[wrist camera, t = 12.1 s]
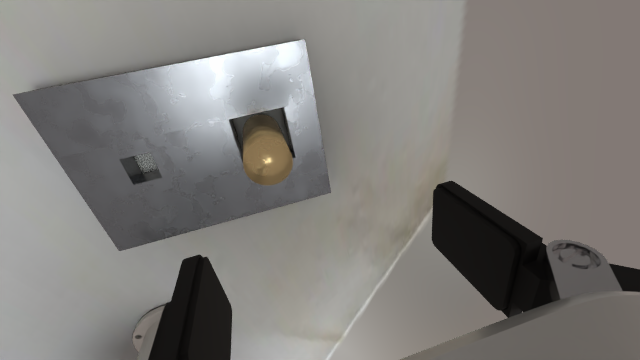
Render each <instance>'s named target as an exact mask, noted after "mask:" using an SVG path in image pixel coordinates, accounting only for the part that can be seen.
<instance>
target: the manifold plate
mask: <svg viewBox="0 0 640 360" xmlns="http://www.w3.org/2000/svg"><path fill="white" fill-rule="evenodd" d="M13 96H14V97H15V99H16V100H17V102H18V103H19V105H20V106H21V108H22V109H23V111H24V112H25V114H26V115H27V117H28V118H29V119H30V121H31V122H32V124H33V125H34V127H35V128H36V130H37V131H38V133H39V134H40V136H41V137H42V139H43V140H44V141H45V143H46V144H47V146H48V147H49V149H50V150H51V152H52V153H53V155H54V156H55V158H56V159H57V161H58V162H59V163H60V165H61V166H62V168H63V169H64V171H65V172H66V174H67V175H68V177H69V178H70V180H71V181H72V183H73V184H74V185H75V187H76V188H77V190H78V191H79V193H80V194H81V196H82V197H83V199H84V200H85V202H86V203H87V205H88V206H89V207H90V209H91V210H92V212H93V213H94V215H95V216H96V218H97V219H98V221H99V222H100V224H101V225H102V227H103V228H104V229H105V231H106V232H107V234H108V235H109V237H110V238H111V240H112V241H113V243H114V244H115V246H116V247H117V249H118V250H119V251H122V250H126V249H129V248H133V247H136V246H140V245H144V244H147V243H151V242H154V241H158V240H162V239H165V238H169V237H172V236H176V235H180V234H183V233H187V232H190V231H194V230H198V229H201V228H205V227H208V226H212V225H216V224H219V223H223V222H226V221H230V220H234V219H237V218H241V217H245V216H248V215H252V214H255V213H259V212H263V211H266V210H270V209H273V208H277V207H281V206H284V205H288V204H291V203H295V202H299V201H302V200H306V199H309V198H313V197H317V196H320V195H324V194H327V193H331V190H330V184H329V178H328V172H327V166H326V160H325V155H324V149H323V143H322V137H321V131H320V125H319V119H318V113H317V107H316V101H315V96H314V90H313V84H312V78H311V72H310V66H309V60H308V54H307V48H306V43H305V39H304V40H297V41H292V42H286V43H281V44H276V45H270V46H265V47H260V48H255V49H249V50H244V51H239V52H234V53H228V54H223V55H218V56H212V57H207V58H202V59H197V60H191V61H186V62H181V63H175V64H170V65H165V66H160V67H154V68H149V69H144V70H139V71H133V72H128V73H123V74H117V75H112V76H107V77H102V78H96V79H91V80H86V81H80V82H75V83H70V84H65V85H59V86H54V87H49V88H44V89H38V90H33V91H28V92H24V93H19V94H14V95H13ZM278 108H282V109H283V114H284V118H285V122H286V127H287V131H288V136H289V140H290V144H291V149H290V152H291V154H292V157H293V167H292V170H291V172H290V174H289V175H288V177H287V178H286V179H284V180H283V181H282V182H280V183H278V184H275V185H260V184H258V183H255V182H254V181H252V180H251V179H250V178H249V177H248V176H247V175H246V173H245V171H244V167H243V153H242V150H241V147H240V144H239V141H238V138H237V135H236V132H235V129H234V126H233V122H232V119H233V118H237V117H242V116H246V115H251V114H255V113H260V112H264V111H269V110H273V109H278ZM149 152H150V153H151V155H152V157H153V159H154V161H155V163H156V165H157V167H158V169H159V170H155V171H151V172H147V173H142V172H141V170H140V168H139V166H138V164H137V162H136V160H135V159H134V157H133V156H136V155H141V154H145V153H149Z"/></svg>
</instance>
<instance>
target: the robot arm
mask: <svg viewBox="0 0 640 360" xmlns="http://www.w3.org/2000/svg"><path fill="white" fill-rule="evenodd" d="M432 219H433V220H432V241H433V244H434V246H435V247H436V248H437V249H438V250H439V251H440V252H441V253H442V254H443V255H444V256H445V257H446V258H447V259H448V260H449V261H450V262H451V263H452V264H453V265H454V266H455V268H457V270H458V271H459V272H460V273H461V274H462V275H463V276H464V277H465V278H466V279H467V280H468V281H469V282H470V283H471V284H472V285H473V286H474V287H475V288H476V289H477V290H478V291H479V292H480V293H481V294H482V295H483V297H484V298H485V299H486V300H487V301H488V302H489V303H490V304H491V305H492V306H493V307H494V308H495V309H497V310H501V311H502V312H503V313H504V314H505V315H506V316H507V317H508V318H507V319H504V320H502V321H500V322H496V323H494V324H491V325H489V326H486V327H483V328H481V329H478V330H475V331H473V332H470V333H468V334H465V335H462V336H460V337H457V338H454V339H452V340H449V341H447V342H444V343H441V344H439V345H437V346H434V347H431V348H429V349H426V350H423V351H421V352H418V353H416V354H413V355H411V356H408V357H405V358H403V359H400V360H640V270H639V269H634V268H629V267H624V266H619V265H614V264H609V263H608V262H607V260H606V258H605V257H604V256H603V255H602V254H601V253H600V252H598V251H597V250H595V249H594V248H592V247H590V246H588V245H585V244H582V243H580V242H575V241H570V240H556V241H552V242H550V243H549V244H548V245H547V246H546V245H545V244H543V243H542V239H543V238H541V237H540V236H538V235H537V234H535V233H533V232H532V231H530V230H529V229H527V228H526V227H524V226H522V225H521V224H519V223H518V222H516V221H515V220H513V219H512V218H510V217H508V216H506V215H505V214H503V213H502V212H501V211H499V210H497V209H496V208H494V207H493V206H491V205H489V204H488V203H486V202H485V201H483V200H482V199H480V198H479V197H477V196H475V195H474V194H472V193H471V192H469V191H468V190H466V189H464V188H463V187H461V186H460V185H458V184H457V183H455V182H453V181H448V182H445V183H441V184H438V185H437V187H436V189H434V192H433V218H432ZM522 311H523V313H522ZM231 330H232V308H231V304H230V302H229V300H228V298H227V296H226V294H225V292H224V290H223V288H222V286H221V284H220V282H219V280H218V278H217V275H216V273H215V271H214V269H213V267H212V265H211V263H210V261H209V259H208V258H207V257H204V258H203V257H202V256H201V255H196V256H193V257H190V258H186V259H184V260H183V261H182V264H181V268H180V271H179V275H178V279H177V282H176V286H175V289H174V293H173V296H172V300H171V302H168V303H167V304H166V305H165V306H161V307H159V308H156V309H154V310H152V311H151V312H149V313H147V314H146V315H145V316H144V317H143V318H141V320H140V321H139V322H138V324H137V325H136V328H135V330H134V333H133V337H132V338H133V345H134V347H135V349H136V350H137V351H138V352H139V354H138V357H137V360H230V355H231Z"/></svg>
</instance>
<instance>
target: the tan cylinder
mask: <svg viewBox="0 0 640 360" xmlns="http://www.w3.org/2000/svg"><path fill="white" fill-rule="evenodd" d="M243 167H244V171H245V173H246V175H247V176H248V177H249V178H250V179H251V180H252V181H254V182H255V183H258V184H260V185H275V184H278V183H280V182H282V181H283V180H284V179H286V178H287V177H288V175H289V174H290V172H291V170H292V167H293V157H292V154H291V152H290V150H289V148H288V145H287V143H286V141H285V139H284V137H283V134H282V132H281V130H280V128H279V126H278V124H277V122H276V121H275V120H274V119H273V118H272V117H270V116H268V115H264V114H259V115H254V116H252V117H251V118H249V119H248V120H247V121H246V123H245V125H244V127H243Z"/></svg>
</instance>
